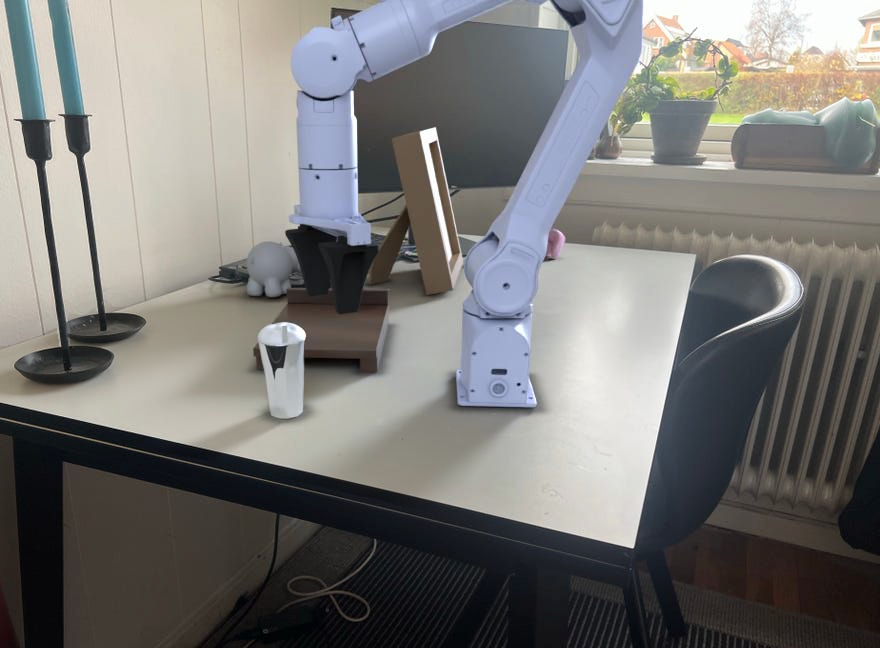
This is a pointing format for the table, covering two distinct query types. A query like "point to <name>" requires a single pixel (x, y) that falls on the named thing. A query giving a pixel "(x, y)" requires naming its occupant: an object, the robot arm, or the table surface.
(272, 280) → the round bodied animal figurine
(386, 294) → the shelf
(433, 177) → the photo frame
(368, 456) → the table surface
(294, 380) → the milkshake
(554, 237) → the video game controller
